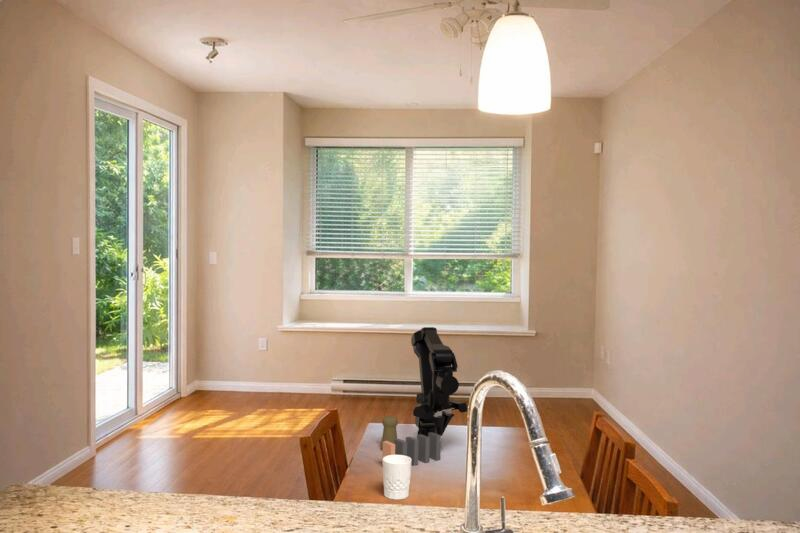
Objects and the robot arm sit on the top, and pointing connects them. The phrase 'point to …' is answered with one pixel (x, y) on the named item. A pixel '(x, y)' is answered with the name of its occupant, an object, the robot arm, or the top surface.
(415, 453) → the grey rectangular block
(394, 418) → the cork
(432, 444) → the gray rectangular block
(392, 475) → the white cup
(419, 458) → the grey domino
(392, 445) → the terracotta domino
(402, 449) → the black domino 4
